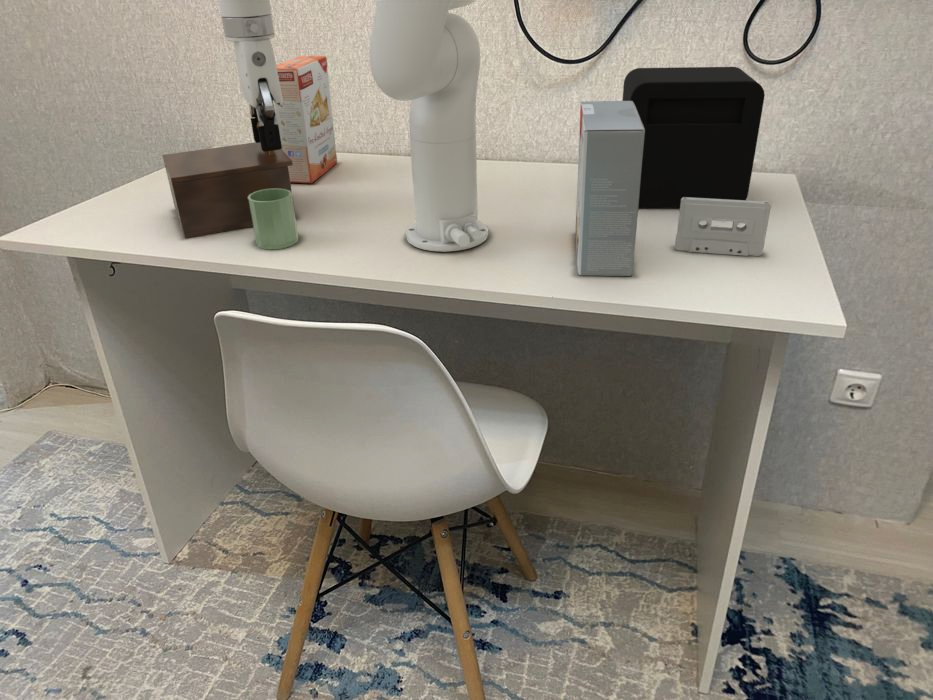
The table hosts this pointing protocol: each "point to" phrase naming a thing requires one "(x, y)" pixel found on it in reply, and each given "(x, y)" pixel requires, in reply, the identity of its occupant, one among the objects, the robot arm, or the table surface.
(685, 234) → the cassette
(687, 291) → the table surface
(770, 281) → the table surface
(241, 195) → the chest
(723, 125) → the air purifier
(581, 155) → the hard drive box
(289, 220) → the cup
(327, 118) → the cracker box
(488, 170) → the table surface
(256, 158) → the chest lid
